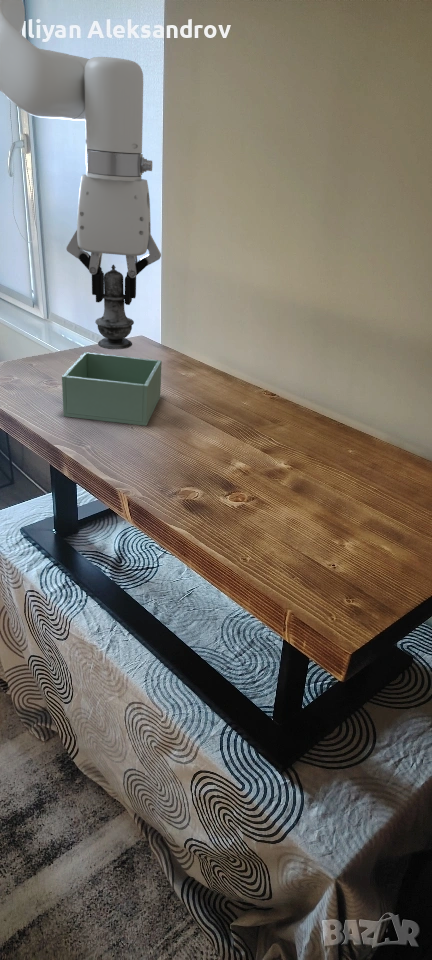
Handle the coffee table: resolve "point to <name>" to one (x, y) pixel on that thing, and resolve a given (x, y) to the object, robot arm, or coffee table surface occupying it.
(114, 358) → the box
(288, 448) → the coffee table surface
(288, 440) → the coffee table surface
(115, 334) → the salt shaker
